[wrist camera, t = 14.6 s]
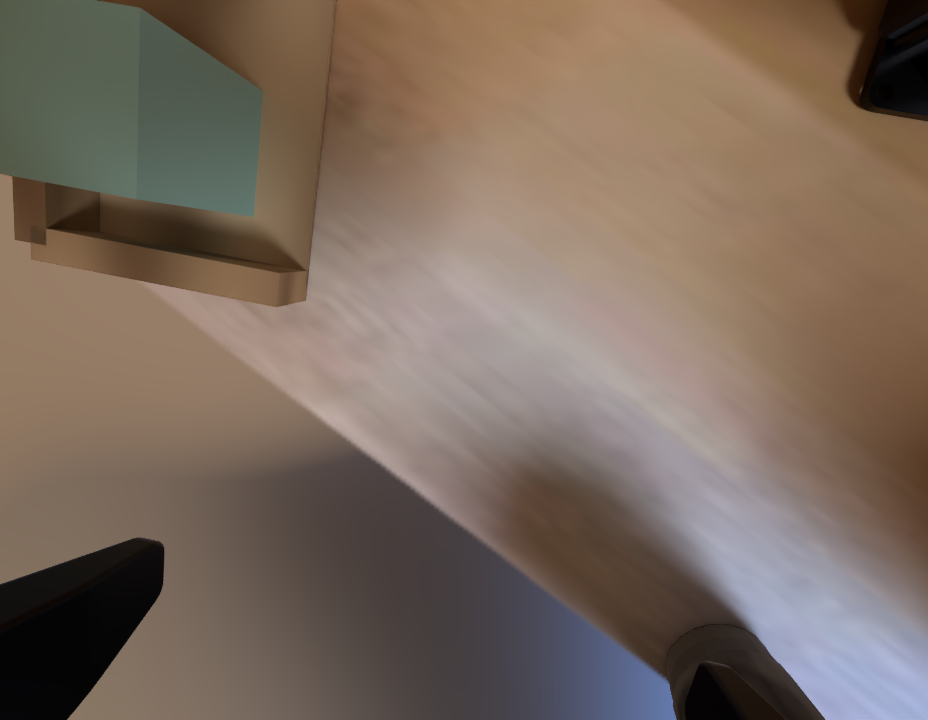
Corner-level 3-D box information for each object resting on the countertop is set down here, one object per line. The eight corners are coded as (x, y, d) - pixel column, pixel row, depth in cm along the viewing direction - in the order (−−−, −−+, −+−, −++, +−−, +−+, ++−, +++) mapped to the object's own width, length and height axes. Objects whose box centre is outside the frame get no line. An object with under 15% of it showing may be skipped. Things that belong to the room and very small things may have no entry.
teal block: (262, 91, 17) (140, 7, 11) (253, 217, 18) (136, 199, 13) (146, 70, 18) (-34, -22, 12) (143, 196, 19) (-23, 169, 13)
